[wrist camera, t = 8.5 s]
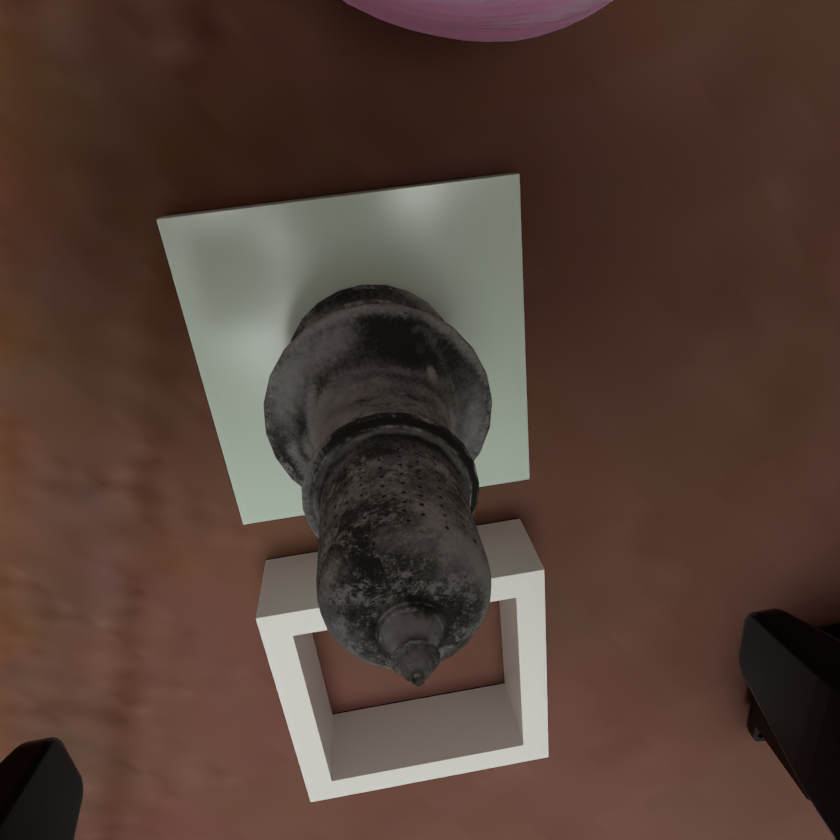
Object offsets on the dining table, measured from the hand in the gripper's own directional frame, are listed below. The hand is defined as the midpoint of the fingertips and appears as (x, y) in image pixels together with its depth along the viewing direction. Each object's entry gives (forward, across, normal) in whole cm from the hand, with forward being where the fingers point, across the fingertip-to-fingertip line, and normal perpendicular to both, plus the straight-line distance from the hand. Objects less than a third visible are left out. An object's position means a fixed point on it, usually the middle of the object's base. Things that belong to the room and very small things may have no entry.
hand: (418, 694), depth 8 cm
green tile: (+13, 0, 0) cm, 13 cm away
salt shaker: (+12, 0, 0) cm, 12 cm away
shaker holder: (+13, 0, +12) cm, 17 cm away
